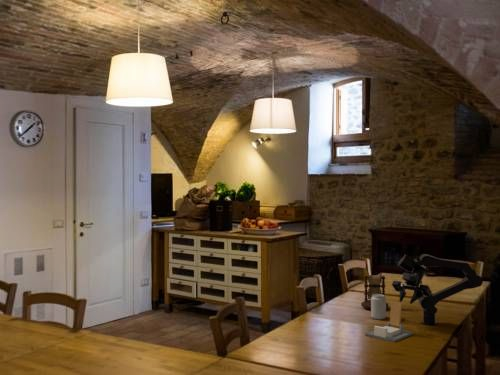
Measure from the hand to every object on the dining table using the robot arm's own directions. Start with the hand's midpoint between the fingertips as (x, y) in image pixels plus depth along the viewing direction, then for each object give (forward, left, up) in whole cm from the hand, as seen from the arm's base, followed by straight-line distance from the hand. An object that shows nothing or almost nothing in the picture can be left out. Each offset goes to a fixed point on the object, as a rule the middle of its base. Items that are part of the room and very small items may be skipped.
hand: (405, 302), depth 260 cm
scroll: (-25, -33, -13) cm, 44 cm away
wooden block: (+10, 0, -9) cm, 13 cm away
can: (-8, -20, -13) cm, 25 cm away
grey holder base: (+15, 0, -13) cm, 19 cm away
